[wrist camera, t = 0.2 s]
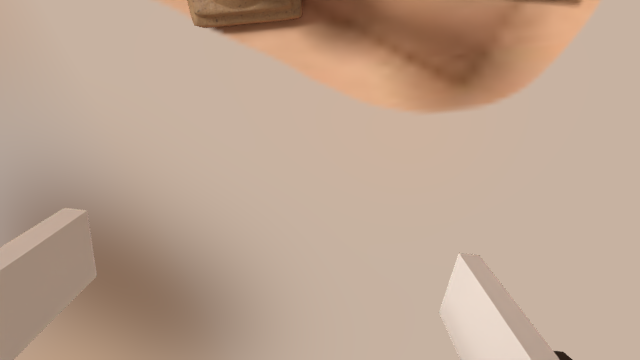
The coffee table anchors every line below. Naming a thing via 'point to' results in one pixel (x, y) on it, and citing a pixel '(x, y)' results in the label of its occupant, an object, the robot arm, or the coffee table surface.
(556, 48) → the coffee table surface
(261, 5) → the candle holder
